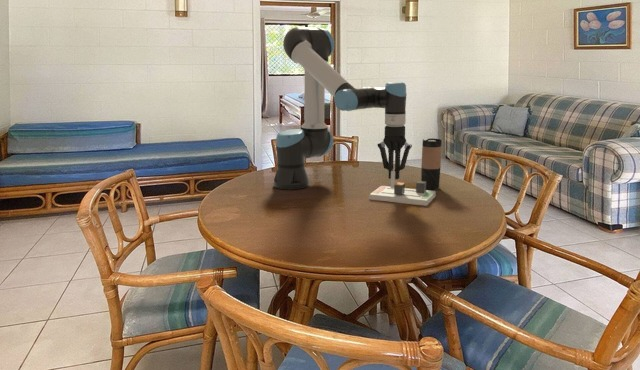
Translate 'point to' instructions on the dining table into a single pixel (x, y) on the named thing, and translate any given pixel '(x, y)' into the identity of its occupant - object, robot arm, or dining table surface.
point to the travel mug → (431, 163)
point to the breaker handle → (399, 188)
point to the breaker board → (405, 195)
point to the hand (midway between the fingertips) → (393, 187)
